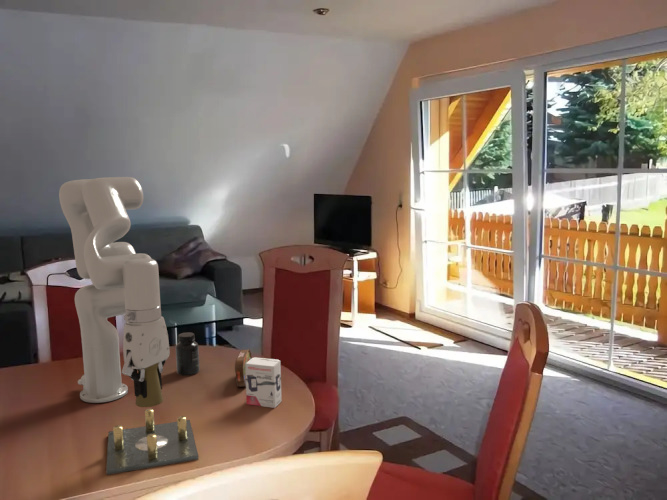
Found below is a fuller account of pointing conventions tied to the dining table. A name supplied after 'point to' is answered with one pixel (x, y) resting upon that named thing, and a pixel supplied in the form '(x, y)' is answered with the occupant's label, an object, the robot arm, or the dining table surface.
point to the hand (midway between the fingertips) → (148, 392)
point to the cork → (151, 388)
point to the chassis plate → (141, 456)
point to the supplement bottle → (187, 355)
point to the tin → (242, 367)
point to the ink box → (263, 382)
